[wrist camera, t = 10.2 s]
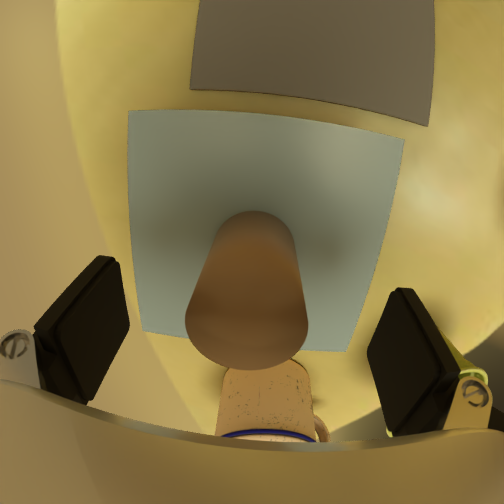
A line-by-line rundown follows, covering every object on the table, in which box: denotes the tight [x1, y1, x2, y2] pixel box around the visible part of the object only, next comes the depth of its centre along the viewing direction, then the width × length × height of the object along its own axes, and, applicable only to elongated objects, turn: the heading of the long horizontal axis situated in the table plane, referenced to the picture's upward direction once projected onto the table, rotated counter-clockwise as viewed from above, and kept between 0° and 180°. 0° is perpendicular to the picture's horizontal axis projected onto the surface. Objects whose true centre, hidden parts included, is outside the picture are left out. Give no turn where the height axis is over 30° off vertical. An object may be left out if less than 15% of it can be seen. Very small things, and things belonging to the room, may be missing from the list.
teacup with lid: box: [215, 359, 331, 442], centre depth 23 cm, size 12×9×12 cm
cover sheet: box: [128, 110, 405, 370], centre depth 12 cm, size 13×13×7 cm
